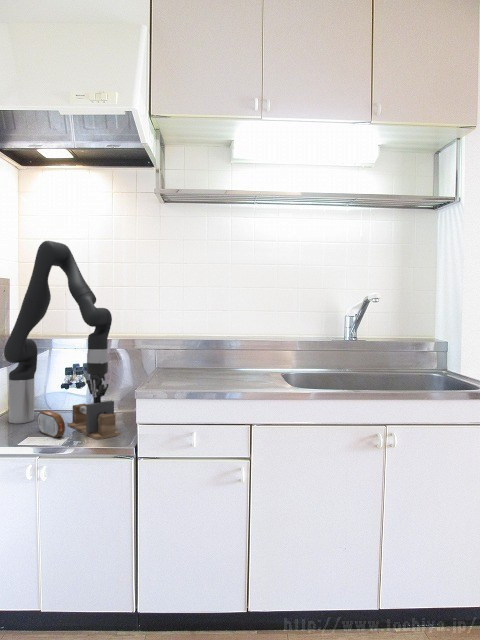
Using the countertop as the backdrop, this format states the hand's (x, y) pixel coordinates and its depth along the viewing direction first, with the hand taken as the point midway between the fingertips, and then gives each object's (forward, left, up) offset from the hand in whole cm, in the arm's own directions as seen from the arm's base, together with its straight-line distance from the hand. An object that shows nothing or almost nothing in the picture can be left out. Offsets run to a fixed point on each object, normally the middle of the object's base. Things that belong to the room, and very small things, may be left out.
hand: (97, 406), depth 158 cm
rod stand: (-3, 0, -10) cm, 10 cm away
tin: (-8, -14, -10) cm, 19 cm away
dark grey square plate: (+3, 0, -8) cm, 8 cm away
